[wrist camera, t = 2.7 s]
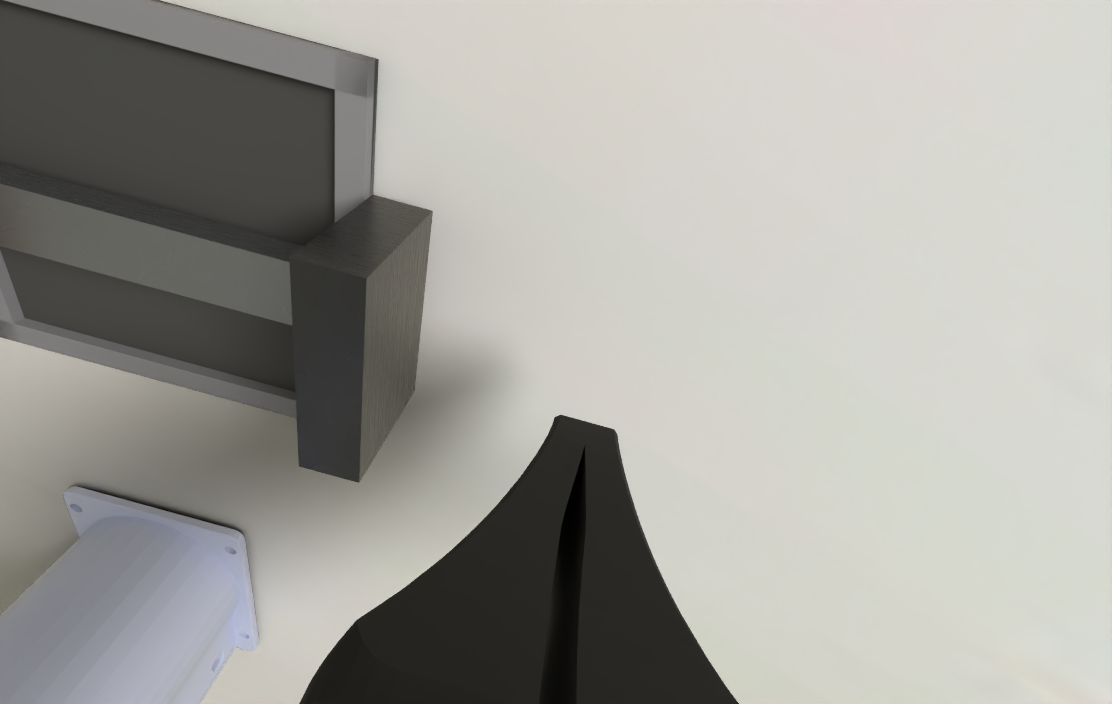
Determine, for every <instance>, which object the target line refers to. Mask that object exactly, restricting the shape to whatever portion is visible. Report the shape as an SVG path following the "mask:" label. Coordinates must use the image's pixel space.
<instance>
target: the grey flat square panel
mask: <svg viewBox="0 0 1112 704" xmlns="http://www.w3.org/2000/svg"><path fill="white" fill-rule="evenodd" d="M377 82H378V59H376V58H372V57H368V56H364V55H361V54H357V53H353V52H350V51H346V50H342V49H338V48H335V47H331V46H327V45H323V44H320V43H316V42H312V41H309V40H305V39H301V38H297V37H294V36H290V35H286V34H283V33H279V32H275V31H271V30H268V29H264V28H260V27H257V26H253V25H249V24H245V23H242V22H238V21H234V20H230V19H227V18H223V17H219V16H216V15H212V14H208V13H204V12H201V11H197V10H193V9H190V8H186V7H182V6H178V5H175V4H171V3H167V2H164V1H160V0H0V164H3V165H7V166H10V167H14V168H18V169H21V170H25V171H29V172H32V173H36V174H40V175H43V176H47V177H51V178H55V179H58V180H62V181H66V182H69V183H73V184H77V185H80V186H84V187H88V188H91V189H95V190H99V191H102V192H106V193H110V194H114V195H117V196H121V197H125V198H128V199H132V200H136V201H139V202H143V203H147V204H150V205H154V206H158V207H161V208H165V209H169V210H173V211H176V212H180V213H184V214H187V215H191V216H195V217H198V218H202V219H206V220H209V221H213V222H217V223H220V224H224V225H228V226H231V227H235V228H239V229H243V230H246V231H250V232H254V233H257V234H261V235H265V236H268V237H272V238H276V239H279V240H283V241H287V242H290V243H294V244H298V245H302V246H305V245H306V244H308V243H309V242H310V241H312V240H313V239H314V238H316V237H317V236H318V235H320V234H321V233H322V232H324V231H325V230H326V229H328V228H329V227H330V226H332V225H333V224H334V223H336V222H337V221H338V220H340V219H341V218H342V217H344V216H345V215H346V214H348V213H349V212H350V211H352V210H353V209H354V208H356V207H357V206H358V205H360V204H361V203H362V202H364V201H365V200H366V199H368V198H369V197H370V196H372V195H373V182H374V157H375V132H376V107H377ZM0 337H2V338H6V339H9V340H13V341H16V342H20V343H24V344H27V345H31V346H35V347H38V348H42V349H46V350H49V351H53V352H57V353H60V354H64V355H68V356H71V357H75V358H79V359H82V360H86V361H90V362H93V363H97V364H101V365H104V366H108V367H112V368H115V369H119V370H123V371H126V372H130V373H134V374H137V375H141V376H145V377H148V378H152V379H156V380H159V381H163V382H167V383H170V384H174V385H177V386H181V387H185V388H188V389H192V390H196V391H199V392H203V393H207V394H210V395H214V396H218V397H221V398H225V399H229V400H232V401H236V402H240V403H243V404H247V405H251V406H254V407H258V408H262V409H265V410H269V411H273V412H276V413H280V414H284V415H287V416H291V417H295V418H297V412H296V391H295V370H294V349H293V327H292V325H288V324H285V323H281V322H277V321H274V320H270V319H266V318H263V317H259V316H255V315H252V314H248V313H244V312H241V311H237V310H233V309H230V308H226V307H222V306H219V305H215V304H211V303H208V302H204V301H200V300H197V299H193V298H189V297H186V296H182V295H178V294H175V293H171V292H167V291H163V290H160V289H156V288H152V287H149V286H145V285H141V284H138V283H134V282H130V281H127V280H123V279H119V278H116V277H112V276H108V275H105V274H101V273H97V272H94V271H90V270H86V269H83V268H79V267H75V266H72V265H68V264H64V263H61V262H57V261H53V260H50V259H46V258H42V257H39V256H35V255H31V254H28V253H24V252H20V251H17V250H13V249H9V248H6V247H2V246H0Z"/></svg>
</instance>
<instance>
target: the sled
mask: <svg viewBox="0 0 1112 704" xmlns="http://www.w3.org/2000/svg"><path fill="white" fill-rule="evenodd" d="M432 213H433V211H431V210H427V209H423V208H420V207H416V206H412V205H408V204H405V203H401V202H397V201H394V200H390V199H386V198H383V197H379V196H375V195H372V196H370V197H369V198H368V199H366V200H365V201H364V202H362V203H361V204H360V205H358V206H357V207H356V208H354V209H353V210H352V211H350V212H349V213H348V214H346V215H345V216H344V217H342V218H341V219H340V220H338V221H337V222H336V223H334V224H333V225H332V226H330V227H329V228H328V229H326V230H325V231H324V232H322V233H321V234H320V235H318V236H317V237H316V238H314V239H313V240H312V241H310V242H309V243H308V244H306V245H305V246H302V245H298V244H294V243H290V242H287V241H283V240H279V239H276V238H272V237H268V236H265V235H261V234H257V233H254V232H250V231H246V230H243V229H239V228H235V227H231V226H228V225H224V224H220V223H217V222H213V221H209V220H206V219H202V218H198V217H195V216H191V215H187V214H184V213H180V212H176V211H173V210H169V209H165V208H161V207H158V206H154V205H150V204H147V203H143V202H139V201H136V200H132V199H128V198H125V197H121V196H117V195H114V194H110V193H106V192H102V191H99V190H95V189H91V188H88V187H84V186H80V185H77V184H73V183H69V182H66V181H62V180H58V179H55V178H51V177H47V176H43V175H40V174H36V173H32V172H29V171H25V170H21V169H18V168H14V167H10V166H7V165H3V164H0V246H2V247H6V248H9V249H13V250H17V251H20V252H24V253H28V254H31V255H35V256H39V257H42V258H46V259H50V260H53V261H57V262H61V263H64V264H68V265H72V266H75V267H79V268H83V269H86V270H90V271H94V272H97V273H101V274H105V275H108V276H112V277H116V278H119V279H123V280H127V281H130V282H134V283H138V284H141V285H145V286H149V287H152V288H156V289H160V290H163V291H167V292H171V293H175V294H178V295H182V296H186V297H189V298H193V299H197V300H200V301H204V302H208V303H211V304H215V305H219V306H222V307H226V308H230V309H233V310H237V311H241V312H244V313H248V314H252V315H255V316H259V317H263V318H266V319H270V320H274V321H277V322H281V323H285V324H288V325H292V327H293V349H294V370H295V391H296V412H297V433H298V454H299V466H300V467H304V468H307V469H311V470H315V471H318V472H322V473H326V474H329V475H333V476H337V477H340V478H344V479H348V480H351V481H355V482H360V480H361V479H362V477H363V475H364V474H365V472H366V470H367V469H368V467H369V465H370V464H371V462H372V460H373V459H374V457H375V455H376V454H377V452H378V450H379V449H380V447H381V445H382V444H383V442H384V440H385V439H386V437H387V435H388V434H389V432H390V430H391V429H392V427H393V425H394V424H395V422H396V420H397V419H398V417H399V415H400V414H401V412H402V410H403V409H404V407H405V405H406V404H407V402H408V400H409V399H410V397H411V395H412V394H413V392H414V390H415V380H416V370H417V360H418V350H419V340H420V331H421V321H422V311H423V301H424V291H425V282H426V272H427V262H428V252H429V242H430V233H431V223H432Z"/></svg>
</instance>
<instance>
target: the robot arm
mask: <svg viewBox="0 0 1112 704" xmlns="http://www.w3.org/2000/svg"><path fill="white" fill-rule="evenodd" d="M63 498H64V501H65V503H66V506H67V508H68V511H69V513H70V516H71V518H72V521H73V524H74V526H75V529H76V531H77V534H78V536H79V539H78V540H77V541H76V542H75V543H74V544H73V545H72V546H71V547H70V548H69V549H68V550H67V551H66V552H65V553H64V554H63V555H62V556H61V557H60V558H59V559H58V560H57V561H55V562H54V563H53V564H52V565H51V566H50V567H49V568H48V569H47V570H46V571H45V572H44V573H43V574H42V575H41V576H40V577H39V578H38V579H37V580H36V581H35V582H34V583H33V584H32V585H31V586H30V587H28V588H27V589H26V590H25V591H24V592H23V593H22V594H21V595H20V596H19V597H18V598H17V599H16V600H15V601H14V602H13V603H12V604H11V605H10V606H9V607H8V608H7V609H6V610H5V611H4V612H3V613H1V614H0V704H200V703H201V701H202V700H203V698H204V697H205V695H206V693H207V692H208V690H209V689H210V687H211V686H212V684H213V682H214V681H215V679H216V678H217V676H218V674H219V673H220V671H221V670H222V668H223V667H224V665H225V663H226V662H227V660H228V659H229V657H230V656H231V654H232V652H233V651H234V649H235V648H240V649H243V650H247V651H253V650H255V649H256V647H257V646H258V644H259V637H258V630H257V622H256V615H255V608H254V600H253V593H252V586H251V578H250V571H249V564H248V557H247V549H246V542H245V538H244V536H243V535H242V534H241V533H240V532H239V531H236V530H234V529H230V528H227V527H223V526H219V525H216V524H212V523H208V522H205V521H201V520H198V519H194V518H190V517H187V516H183V515H179V514H176V513H172V512H168V511H165V510H161V509H158V508H154V507H150V506H147V505H143V504H139V503H136V502H132V501H128V500H125V499H121V498H118V497H114V496H110V495H107V494H103V493H99V492H96V491H92V490H88V489H85V488H81V487H76V486H72V487H70V488H69V489H67V490H66V491H65V492H64V493H63ZM300 704H739V703H738V702H737V701H736V699H735V698H734V697H733V695H732V694H731V693H730V691H729V690H728V689H727V687H726V686H725V684H724V683H723V681H722V680H721V678H720V677H719V675H718V674H717V672H716V671H715V669H714V668H713V666H712V665H711V663H710V662H709V660H708V659H707V657H706V655H705V654H704V652H703V650H702V649H701V647H700V645H699V644H698V642H697V640H696V639H695V637H694V635H693V633H692V632H691V630H690V628H689V627H688V625H687V623H686V622H685V620H684V618H683V616H682V615H681V613H680V611H679V609H678V607H677V605H676V604H675V602H674V600H673V598H672V596H671V594H670V592H669V590H668V588H667V586H666V584H665V582H664V580H663V577H662V575H661V573H660V571H659V569H658V567H657V565H656V562H655V560H654V558H653V555H652V553H651V550H650V548H649V546H648V543H647V540H646V538H645V535H644V533H643V530H642V527H641V525H640V522H639V519H638V516H637V513H636V510H635V507H634V503H633V500H632V497H631V494H630V491H629V487H628V484H627V480H626V476H625V472H624V468H623V464H622V459H621V455H620V450H619V444H618V436H617V433H616V432H615V430H614V429H611V428H607V427H603V426H600V425H596V424H592V423H589V422H585V421H581V420H578V419H574V418H570V417H567V416H563V415H559V416H557V417H555V418H554V422H553V425H552V427H551V429H550V431H549V434H548V436H547V437H546V439H545V441H544V443H543V444H542V446H541V448H540V449H539V451H538V453H537V454H536V456H535V457H534V458H533V460H532V461H531V463H530V464H529V466H528V467H527V468H526V470H525V471H524V473H523V474H522V475H521V477H520V478H519V479H518V481H517V482H516V483H515V484H514V485H513V487H512V488H511V489H510V490H509V491H508V493H507V494H506V495H505V496H504V497H503V499H502V500H501V501H500V502H499V503H498V504H497V506H496V507H495V508H494V509H493V510H492V511H491V512H490V513H489V514H488V515H487V516H486V517H485V518H484V519H483V520H482V521H481V522H480V523H479V524H478V526H477V527H476V528H475V529H474V530H472V531H471V532H470V533H469V534H468V535H467V536H466V537H465V538H464V539H463V540H462V541H461V542H460V543H459V544H457V545H456V546H455V547H454V548H453V549H452V550H451V551H450V552H449V553H447V554H446V555H445V556H444V557H443V558H442V559H440V560H439V561H438V562H437V563H436V564H434V565H433V566H432V567H430V568H429V569H428V570H427V571H425V572H424V573H423V574H421V575H420V576H419V577H418V578H416V579H415V580H414V581H413V582H411V583H410V584H409V585H407V586H406V587H405V588H403V589H402V590H401V591H399V592H398V593H396V594H395V595H393V596H392V597H391V598H389V599H388V600H386V601H385V602H383V603H382V604H380V605H379V606H377V607H376V608H374V609H373V610H371V611H370V612H368V613H367V614H365V615H364V616H362V617H361V618H359V619H358V620H356V621H355V623H354V624H353V625H352V626H351V627H350V628H349V630H348V631H347V632H346V633H345V634H344V636H343V637H342V638H341V639H340V640H339V641H338V643H337V644H336V645H335V647H334V648H333V649H332V650H331V652H330V653H329V654H328V656H327V657H326V658H325V660H324V661H323V663H322V664H321V666H320V667H319V669H318V670H317V672H316V674H315V675H314V677H313V678H312V680H311V682H310V684H309V686H308V688H307V690H306V692H305V694H304V696H303V698H302V700H301V702H300Z"/></svg>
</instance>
